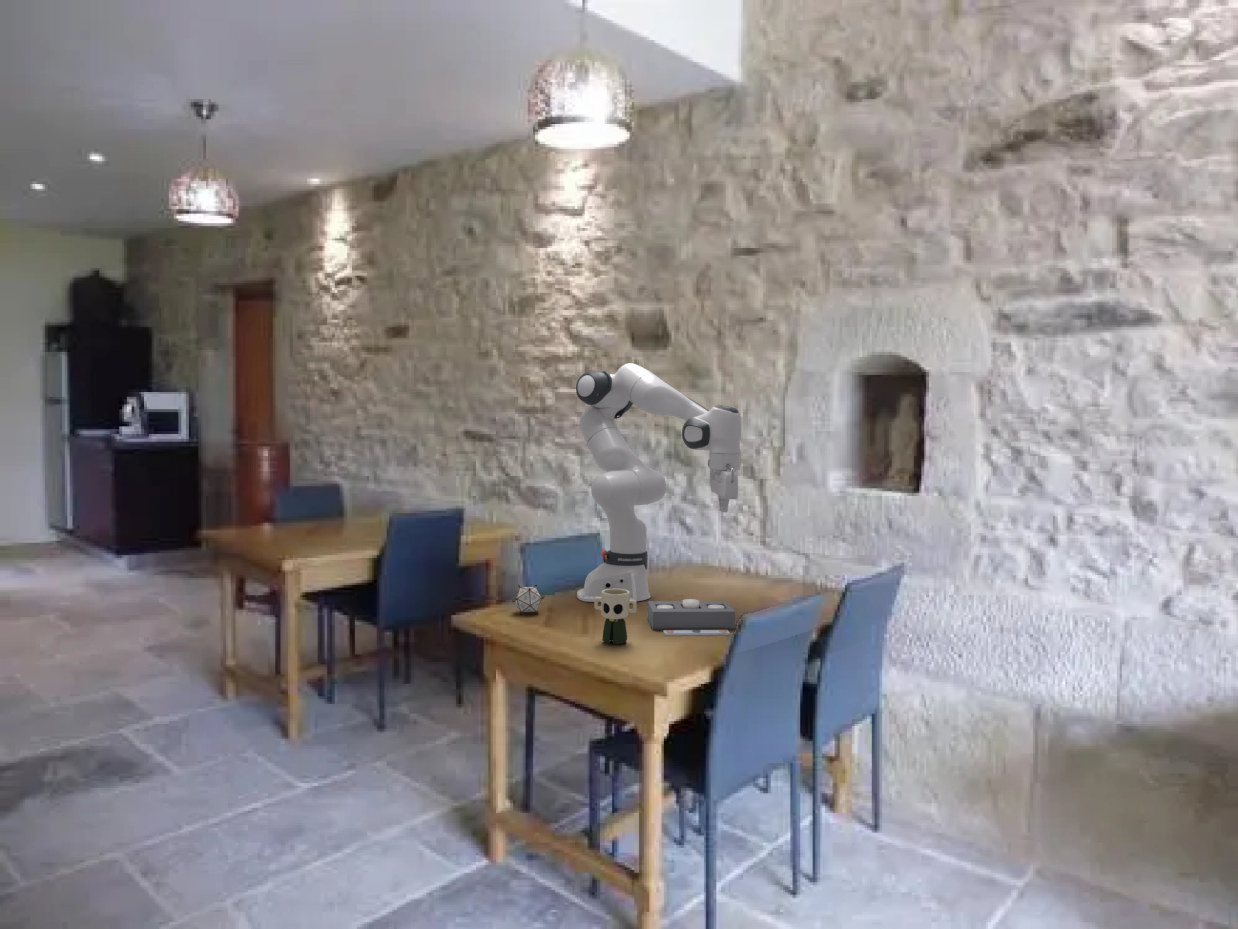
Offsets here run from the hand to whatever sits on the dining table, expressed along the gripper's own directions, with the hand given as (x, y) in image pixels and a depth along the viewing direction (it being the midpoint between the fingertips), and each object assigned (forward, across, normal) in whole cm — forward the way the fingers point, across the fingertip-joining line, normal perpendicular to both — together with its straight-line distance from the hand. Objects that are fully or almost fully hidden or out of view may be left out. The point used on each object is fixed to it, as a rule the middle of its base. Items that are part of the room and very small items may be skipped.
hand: (723, 511), depth 254 cm
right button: (+27, -13, +4) cm, 30 cm away
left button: (+27, -13, +18) cm, 35 cm away
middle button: (+26, -13, +11) cm, 31 cm away
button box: (+29, -13, +11) cm, 34 cm away
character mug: (+29, -30, +33) cm, 53 cm away
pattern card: (+29, -22, +11) cm, 38 cm away
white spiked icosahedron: (+29, +1, +55) cm, 62 cm away
